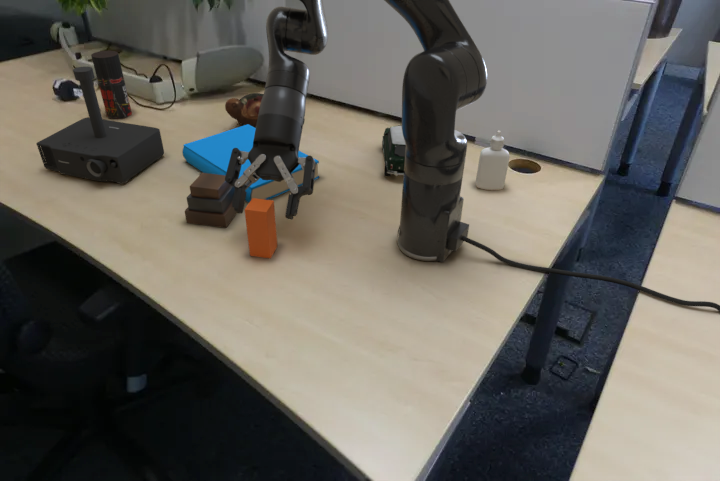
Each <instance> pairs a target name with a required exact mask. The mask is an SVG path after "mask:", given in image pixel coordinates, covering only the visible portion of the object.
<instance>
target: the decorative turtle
mask: <svg viewBox="0 0 720 481" xmlns="http://www.w3.org/2000/svg"><path fill="white" fill-rule="evenodd" d="M263 94H264V93H258V92H257V93H256V92H253V93H249V94H245V95H244V96H242V97H241V98H236V97H231V98H229V99H227V100H226V102H225V104H224V108H225V111H226V112H227V115H229V116H230V117H231V118H232V119H234V120H236V122H237V123H238V124H239V125H241V126H244V125H247V124H249V125H251V126H253V127H254V128H256V124H257V119H258V114H259V109H260V104H261V100H262V97H263Z"/></svg>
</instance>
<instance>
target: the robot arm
mask: <svg viewBox="0 0 720 481" xmlns="http://www.w3.org/2000/svg"><path fill="white" fill-rule="evenodd" d="M299 1H300V3H302V4H303V6H304V7H305V9H302V8H295V7H289V6H276V7H274V8H273V9H272V10H271V11H270V12H269V13H268V15H267V17H266V21H265V28H266V30H265V32H266V39H267V49H268V69H267V75H266V80H265V85H264V91H263V93H262V94H263V97H262V100H261V104H260V109H259V114H258V119H257V124H256V127H255V128H256V130H255V135H254V140H253V147H252V149H251V150H250V152H245V151H240V150H239V149H238V148H234V149H233V150H232V153H231V157H230V161H229V165H228V169H227V172H226V176H225V181H226V182H227V183H228V184H230V185H231V186H233V187H234V188H235V191H234V196H233V201H232V207H233V208H234V210H235V211H236V212H237V213H236V214H243V212H244V210H245V203H246V201H245V198H246V193H247V192H246V191H245V190H246V189H247V188H248V187H249V186H250V185H252V184H253V183H255V182H256V181H257V180H259V179H260V178H261V179H262V180H274V181H278V182H281V181H282V180H285V182H286V183H287V185H288V187H289V189H290V191H289V192H290V193H289V194H288V198H287V203H286V209H285V214H284V215H285V218H286V219H287V220H291V221H292V220H294V217H297V215H298V212H299V206H300V199H301V198H303V196H311V195H313V193H314V185H315V180H314V177H315V167H316V162H315V160H314V159H315V158H314V157H313V156H312V155H311V154H310V155H308V156H307V157H306V158H305V157H298V151H300V144H301V140H302V133H303V129H304V125H305V116H306V102H307V95H308V92H309V91H308V90H309V84H310V80H311V70H310V68H309V66H308V65H307V63H305V62H303V61H302V60H300V59H298V58H296V57H294V56H291V55H288V54H287V53H285V52H291V53H296V54H297V53H298V54H304V55H310V56H315V55H316V56H317V55H319V54H321V53H322V52H323V51H324V50H325V48H326V47H327V44H328V40H329V30H328V29H329V27H328V23H327V21H328V20H327V17H326V13H325V8H324V2H323V0H299ZM383 1H384V2H385V3H386V4H387V5H389V7H391V8H392V9H393V10H394V11H395V12H396V13H398V14H399V15H400V16H401V17H402V19H404V20H405V21H406V23H407V24H408V25H409V26H410V28H411V30H412V31H413V32H414V34H415V36H416V37H417V39H418V41H419V43H420V46H421V47H422V49H423V51H421V52H418V53H416V54H415V55H414V56H413V57H411V59H410V60H409V62H408V63H407V65H406V66H405V70H404V74H403V80H402V87H401V88H402V89H401V125H402V133H403V137H404V140H405V144H406V150H405V164H404V175H403V178H402V191H401V205H400V215H399V216H400V217H399V226H398V230H397V234H398V236H397V238H398V239H397V246H398V248H399V251H401V252H402V253H403V254H404V255H405V256H407V257H409V258H411V259H414V260H417V261H423V262H424V261H425V262H435V261H437V262H439V263H444V262H445V260H446V259H447V258H448V257H449V256H450V255H451V254H452V252H457V250H459V249H460V247H461V246H462V244H463V243H464V242H465V243H467V244H469V245H471V246H474V247H476V248H478V249H481V250H483V251H485V252H486V253H488V254H490V255H491V256H493V257H494V258H495V259H496V260H498V261H500V262H502V263H504V264H506V265H509V266H512V267H516V268H519V269H524V270H527V271H528V270H529V271H534V272H541V273H549V274H554V275H555V274H556V275H560V276H566V277H574V278H581V279H588V280H597V281H603V282H609V283H612V284H616V285H617V284H618V285H621V286H625V287H628V288H631V289H633V290H636V291H640V292H642V293H645V294H647V295H650V296H652V297H655V298H658V299H661V300H663V301H666V302H670V303H673V304H676V305H680V306H683V307H684V306H685V307H701V308H702V307H703V308H706V307H707V308H712V309H714V310H717V311H718V312H719V313H720V304H718V303H716V302H713V301H705V300H704V301H703V300H702V301H701V300H700V301H699V300H697V301H695V300H684V299H681V298H676V297H673V296H670V295H668V294H664V293H661V292H658V291H655V290H653V289H650V288H648V287H645V286H642V285H640V284H637V283H634V282H631V281H627V280H623V279H620V278H616V277H611V276H607V275H600V274H592V273H585V272H577V271H570V270H566V269H565V270H563V269H560V268H559V269H557V268H552V267H545V266H537V265H532V264H526V263H521V262H517V261H514V260H512V259H509V258H505V257H504V256H503V255H501V254H499V253H498V252H496V251H495V250H494V249H492V248H490V247H488V246H486V245H485V244H483V243H480V242H478V241H476V240H473V239H471V238H469V237H468V235H469V229H470V228H469V227H470V224H469V223H466V222H464V221H463V222H462V221H461V220H462V213H463V207H464V201H465V199H464V197H463V196H461V192H462V184H463V178H464V171H465V163H466V157H467V152H468V151H467V150H468V140H467V138H466V136H465V135H464V134H463V133H462V132H460V131H458V130H456V118H457V117H456V115H457V111H459V110H461V109H463V108H465V107H468V106H470V105H471V104H473V103H475V102H477V101H478V100H479V99H480V98H481V97H482V96H483V95H484V93H485V90H486V88H487V82H488V71H487V65H486V63H485V60H484V57H483V55H482V52H481V51H480V49H479V48H478V46H477V44H476V43H475V41H474V39H473V37H472V35H471V34H470V33H469V31H468V30H467V28H466V26H465V24H464V23H463V21H462V20H461V18H460V15H458V13H457V12H456V10H455V7H454V6H453V5H452V3H451V1H450V0H383ZM313 158H314V159H313ZM248 159H249V161H250V163H251V165H250V166H249V167H248V168H247V169H246V170H245V171H244V172H243V175H242V176H241V177H240V178H239V174H240V170H241V166H242V164H244V163H245V162H246V160H248ZM299 164H300V165H301V168H302V169H303V171H304V178H303V185H302V186H299V187H298V185H297V183H296V181H295V180H294V178H293V176H292V174H291V173H292V172H293V171H294V170H295V169H296V168H297V167H298V165H299ZM238 178H239V179H238Z"/></svg>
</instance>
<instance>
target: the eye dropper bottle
mask: <svg viewBox="0 0 720 481" xmlns="http://www.w3.org/2000/svg"><path fill="white" fill-rule="evenodd" d="M504 142H505V138H504V136H502V131H501V130H497V131H496V133H495V135H492V136H491V138H490V142H489V143H490V144H489V146H488V147H485V148H483V149H481V151H480V153H479V158H478V164H477V171H476V176H475V186H476V188H478V189H481V190H486V191H500V190H503V189H504V187H505V183H506V178H507V173H508V168H509V164H510V158H511V156H510V153H509V151H508V150H507V149H506V148H504Z"/></svg>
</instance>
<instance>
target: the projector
mask: <svg viewBox="0 0 720 481" xmlns="http://www.w3.org/2000/svg"><path fill="white" fill-rule="evenodd" d="M72 73H73V76H74V79H75V81H77V82H79V86H80V89H81V93H82V96H83V100H84V102H85V108H86V110H87V111H86V112H87V114H88V116H87V117H84V118H81V119H79V120H77V121H75V122H73V123H72V124H70V125H68V126H66V127H64V128H62V129H61V130H59V131H56V132H55V133H52V134H50V135H49V136H47V137H45V138H43V139H41V140H39V141H37V142H36V146H37V150H38V152H39V154H40V155H39V156H40V159H41V160H42V164H43V167H44V168H45V169H46V170H50V171H53V172H59V174H61V175H65V176H71V177H75V178H81V179H86V180H92V181H96V182H102V183H104V182H106V183H107V182H114V183H117V184H125V183H127V182H129V181H130V180H131V179H133V178H134V177H135V176H136V175H137V174H140V172H142V171H143V170H144V169H146V168H147V167H149V166H150V165H152V164H153V163H155V162H156V161H157V160H160V159H161V158H162V157H163V155H164V154H165V149H164V144H163V139H162V135H161V130H160V128H157V127H153V126H149V125H148V126H147V125H141V124H136V123H129V122H122V121H116V120H111V119H110V120H109V119H104V118H103V115H102V112H101V108H100V104H99V100H98V97H97V93H96V89H95V86H94V82H93V80H94V79H95V77H96V75H95V73H94V68H93V67H92V66H78V67H75V68H73V69H72Z"/></svg>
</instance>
